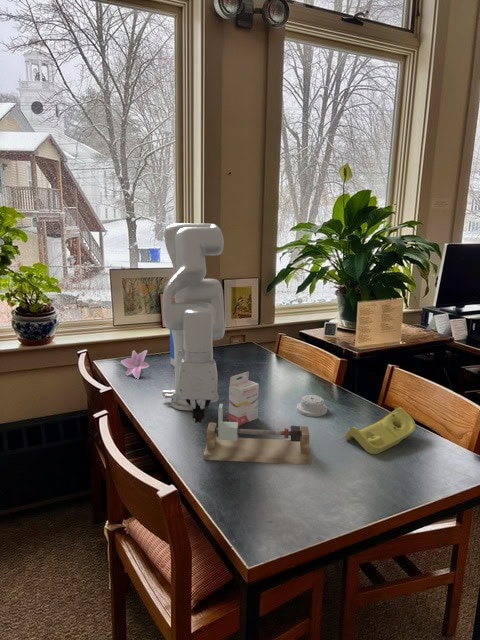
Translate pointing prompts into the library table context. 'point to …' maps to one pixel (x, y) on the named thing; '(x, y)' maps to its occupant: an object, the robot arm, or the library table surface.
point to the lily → (135, 363)
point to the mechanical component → (312, 406)
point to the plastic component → (384, 432)
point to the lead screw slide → (260, 446)
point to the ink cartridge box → (243, 399)
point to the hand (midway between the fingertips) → (198, 420)
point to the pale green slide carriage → (226, 427)
